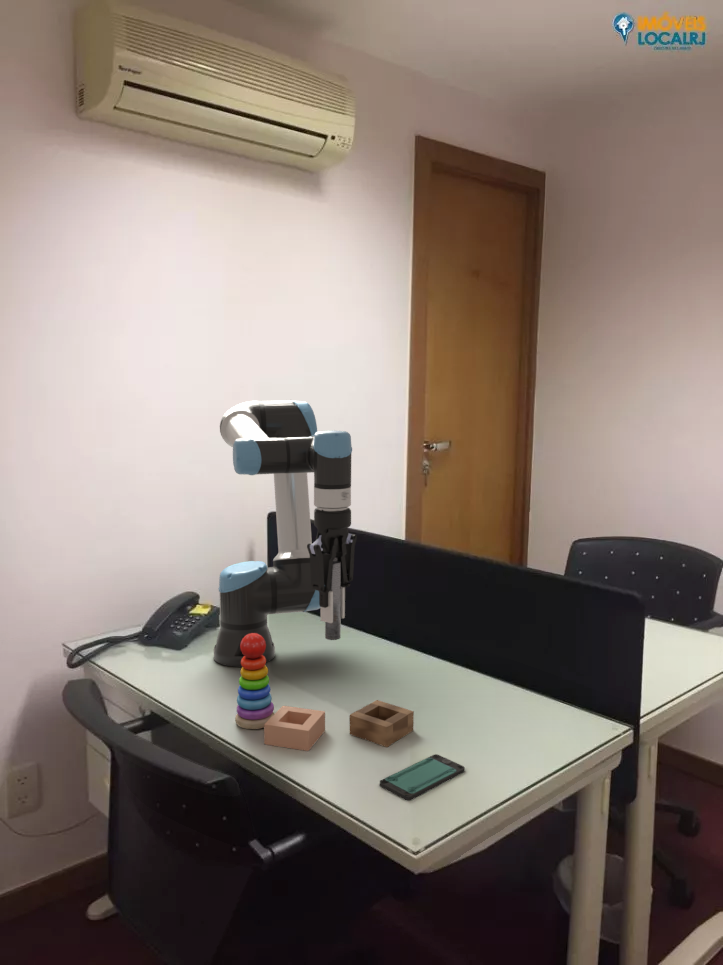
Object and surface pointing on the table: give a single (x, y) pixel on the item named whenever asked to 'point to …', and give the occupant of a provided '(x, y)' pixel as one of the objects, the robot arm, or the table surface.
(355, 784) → the table surface
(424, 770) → the smartphone
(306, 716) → the pink square socket block
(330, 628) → the grey capped cylinder
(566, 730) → the table surface
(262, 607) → the robot arm
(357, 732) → the brown wooden square holder
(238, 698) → the stacking toy
